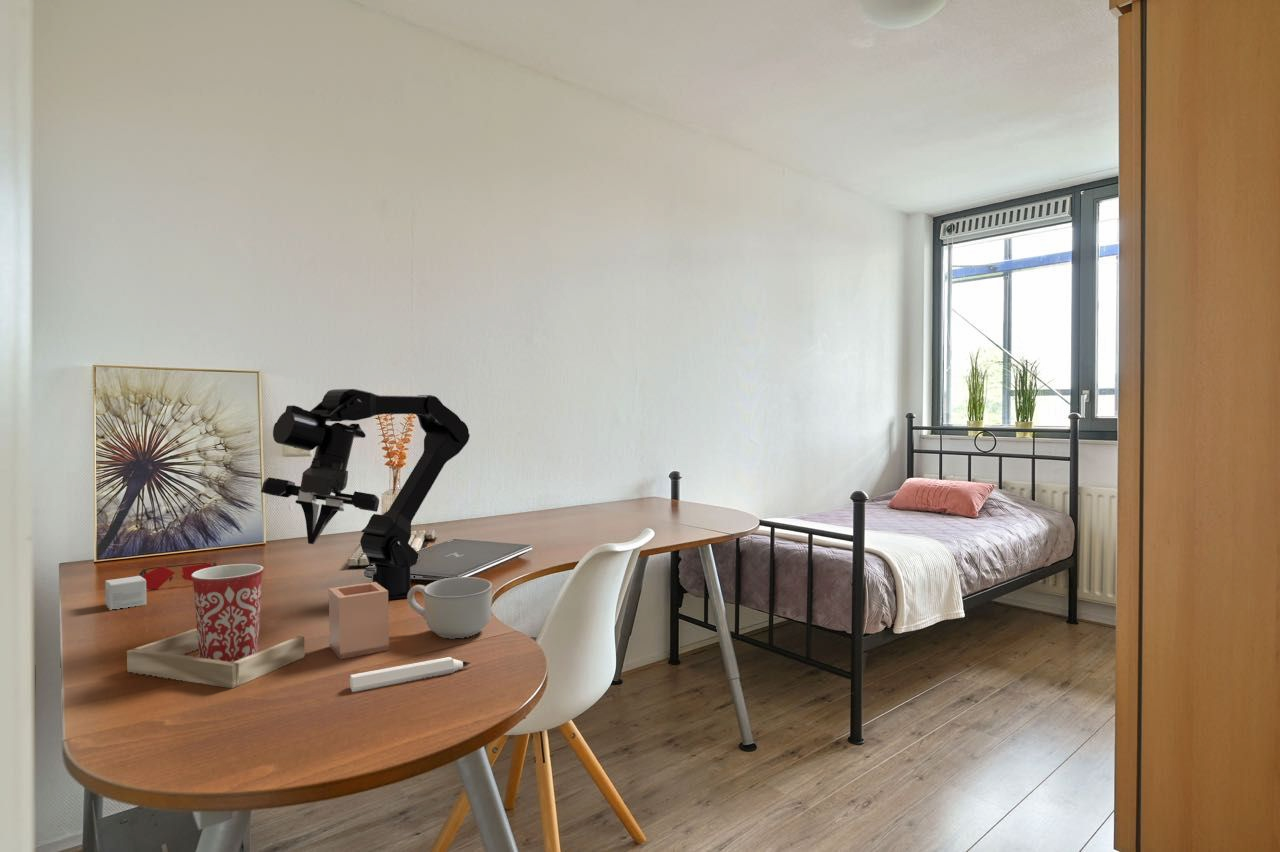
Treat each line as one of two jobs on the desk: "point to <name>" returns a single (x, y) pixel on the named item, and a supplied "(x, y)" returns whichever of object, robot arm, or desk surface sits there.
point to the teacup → (454, 605)
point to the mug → (228, 610)
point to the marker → (404, 673)
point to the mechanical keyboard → (415, 542)
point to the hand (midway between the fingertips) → (311, 543)
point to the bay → (208, 661)
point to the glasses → (170, 574)
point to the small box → (125, 592)
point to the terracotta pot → (358, 619)
